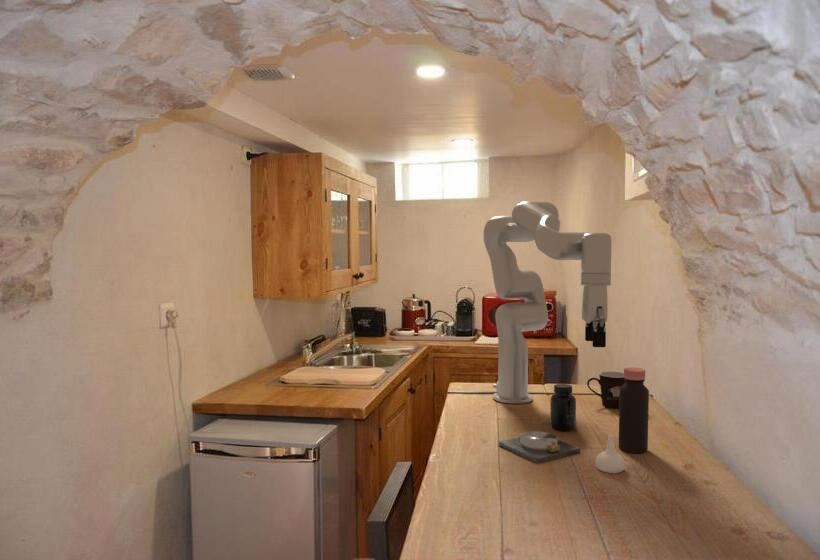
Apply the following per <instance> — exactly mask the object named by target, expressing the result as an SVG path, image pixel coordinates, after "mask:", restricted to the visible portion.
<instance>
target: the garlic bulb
mask: <svg viewBox="0 0 820 560" xmlns="http://www.w3.org/2000/svg"><path fill="white" fill-rule="evenodd" d="M607 436H608V439H607V445H606V448H605V450H604V451H602V452H600V453H599V454H597V456H596V458H595V462H594V463H595V466H596V469H598V471H601V472H603V473H608V474H618V473H621V472H623V471H624V470H625V465H626V463H625V460H624V458H623V456H622V455H620V454H619V453H618V452H617V451H616V445H615V438H614V435H612V434H608V435H607Z"/></svg>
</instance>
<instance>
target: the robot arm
mask: <svg viewBox="0 0 820 560" xmlns="http://www.w3.org/2000/svg"><path fill="white" fill-rule="evenodd" d="M559 219H560V218H559V211H558V209H557V206H555V205H554V204H553V203H552V202H549V201H532V200H528V201H527V200H526V201H521V202H520V203H517V204H516V205H515V206H514V207H513V208H512V211H511V215H499V216H493V217H492V218H489V220H487V222H486V223H485V225H484V227H483V228H484V229H483V243H484V247H485V249H486V252H487V254H488V258H489V260H490V265H491V271H492V272H491V273H492V278H493V283H494V289H495V292H496V295H497V297H498V298H499V299H502V300H522V299H523V300H524V302H521V301H519V302H517V301H516V302H507V303H503V304H502V305H500V306H498V308H497V309H496V310H495V318H494V319H495V326H496V330H497V340H498V341H497V342H498V343H497V345H498V347H497V351H498V355H497V356H498V357H497V359H498V360H497V361H498V364H497V365H498V366H497V368H498V370H497V371H498V372H497V373H498V374H497V382H496V383H493V385H492V388H493V389H496V392H495V393H493V395H492V396H493V397H492V398H493V400H495V401H497V402H500V403H504V404H512V405H513V404H515V405H517V404H528V403H529V402H532V401H533V395H532V394H530V393H528V391H529V389H528V387H529V386H528V384H529V383H528V382H529V380H528V379H529V378H528V377H529V373H528V372H529V346H528V345H529V344H528V342H527V340H526V338H525V337H524V334H523V333H525V332H532V331H541V330H543V329H544V328H546V326H547V324H548V320H549V313H548V306H547V301H546V300H547V299H546V295H545V290H544V289H545V288H544V285H543V282H542V281H543V280H542V279H541V277H540V275H539V274H538V273H537V271H534V270H529V269H520V268H519V265H518V261H517V260H518V259H517V256H516V255H515V253H514V251H513V250H512V248H511V247H510V246H509V245H508V244H507V243H527V242H533V241H534V243H535V246H536V247H537V249H538V250H539V251H540V252H541V253H543V254H544V255H545V256H547V257H549V258H550V259H552V260H556V261H572V260H573V261H581V262H580V263H581V264H580V265H581V266H580V268H581V269H580V271H581V273H580V275H581V276H580V282H581V283H580V285H581V286H583V289H582V290H583V292H582V304H581V305H582V306H581V319H582V320H583V321H584V322H585V327H584V331H585V332H584V334H585V335H584V340H585V341H586V342H592V347H593V348H606V344H607V343H606V342H607V341H606V340H607V339H606V338H607V337H606V336H607V333H606V332H607V330H606V329H607V328H606V323H607V321H608V287H609V286H612V236H611V235H610V234H609V233H608V232H567V231H564V232H559V231H560V229H561V223H560V220H559Z"/></svg>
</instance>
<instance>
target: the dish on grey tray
mask: <svg viewBox="0 0 820 560" xmlns="http://www.w3.org/2000/svg"><path fill="white" fill-rule="evenodd" d="M499 445H500V446H499ZM498 446H499V447H501V446H502V447H501V448H503V447H504V448H503V449H505V450H507V449H508V451H509V452H512V453H514V454H515V455H518V456H520V457H522V458H525V459H526V460H529V461H531V462H533V463H535V464H540V463H543V462H547V461H551V460H556V459H558V458H559V459H560V458H563V457H567V456H571V455H575V454H580V453H581V448H579V447H578V446H575V445H572V444H571V443H567V442H565V441H562V440H560V439H558V437H557V436H556V435H555V434H553V433H549V432H545V431H538V430H537V431H533V430H532V431H526V432H520V433H518V437H514V438H510V439H504V440H501V441H498Z"/></svg>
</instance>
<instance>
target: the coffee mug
mask: <svg viewBox="0 0 820 560" xmlns="http://www.w3.org/2000/svg"><path fill="white" fill-rule="evenodd" d="M598 374H599V378H597V377H591V378H589V379H588V380H587V382H586V385H587V388H588V389H589V390H590V391H591V392H592V393H593V394H595V395H597V396H598V397H599V398H601V404H602V407H604V406H605V408H606V407H608V408H607V409H615V410H619V397H620V388H621V386H623V385H624V384H625V380H624V372H621V371H600V372H599V373H598ZM591 381H597V382H598V384H599V386H600V393H601V394H600V393H599V392H597V391H595V390H593V389H592V388H591V387H590V382H591Z"/></svg>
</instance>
